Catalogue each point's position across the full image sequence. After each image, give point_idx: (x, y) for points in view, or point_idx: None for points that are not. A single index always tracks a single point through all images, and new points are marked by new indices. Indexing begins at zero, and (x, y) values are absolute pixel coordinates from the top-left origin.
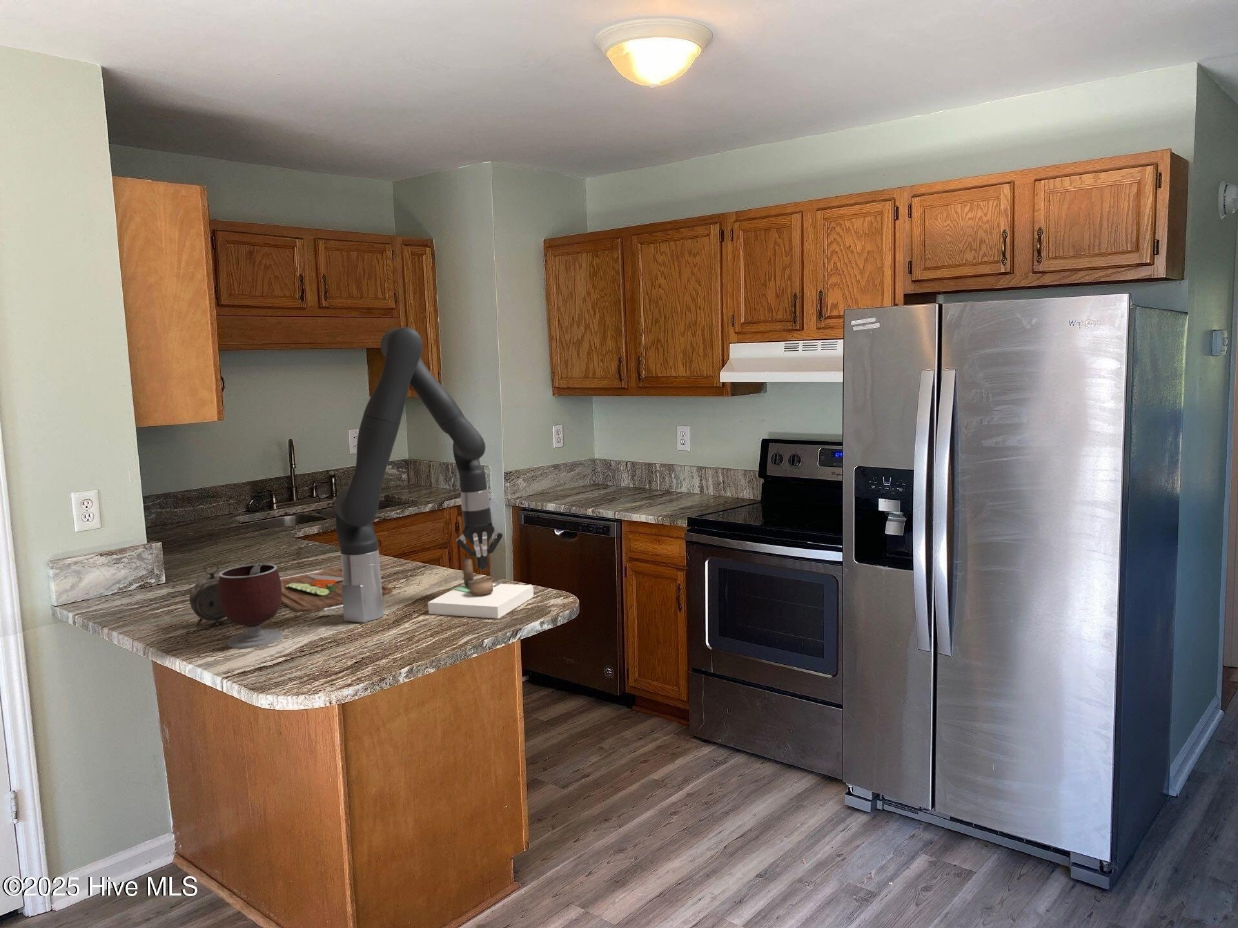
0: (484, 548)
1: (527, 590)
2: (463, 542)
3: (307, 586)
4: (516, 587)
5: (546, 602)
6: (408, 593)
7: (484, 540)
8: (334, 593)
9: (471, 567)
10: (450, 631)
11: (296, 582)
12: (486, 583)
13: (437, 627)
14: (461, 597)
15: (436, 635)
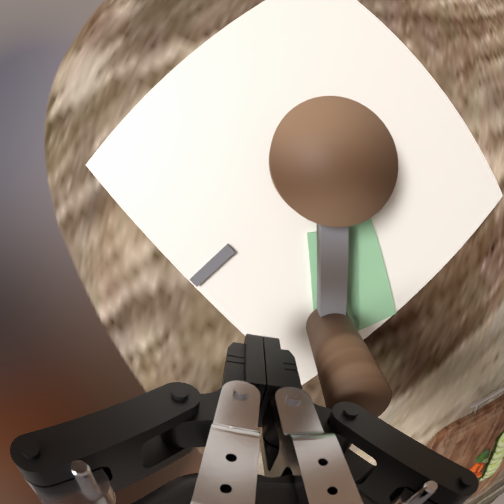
0: (237, 427)
1: (122, 124)
2: (434, 482)
3: (495, 462)
4: (147, 171)
5: (106, 73)
6: (419, 420)
7: (224, 491)
8: (492, 438)
9: (337, 352)
10: (447, 6)
11: None
12: (316, 119)
13: (474, 54)
14: (413, 167)
15: (473, 12)
